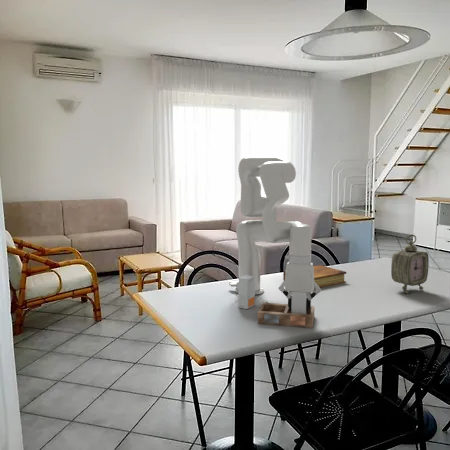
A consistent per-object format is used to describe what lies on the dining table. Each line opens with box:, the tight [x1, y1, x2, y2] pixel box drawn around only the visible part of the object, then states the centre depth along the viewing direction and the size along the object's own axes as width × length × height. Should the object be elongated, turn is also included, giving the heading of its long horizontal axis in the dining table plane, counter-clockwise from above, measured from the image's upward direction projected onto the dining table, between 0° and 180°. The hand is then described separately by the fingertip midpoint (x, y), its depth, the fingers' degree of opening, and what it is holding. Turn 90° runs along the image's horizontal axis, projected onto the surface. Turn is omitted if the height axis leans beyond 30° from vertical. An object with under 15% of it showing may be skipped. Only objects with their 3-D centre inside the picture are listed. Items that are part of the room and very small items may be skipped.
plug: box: [291, 292, 307, 314], centre depth 157 cm, size 5×5×11 cm
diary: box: [282, 264, 347, 290], centre depth 212 cm, size 23×19×6 cm
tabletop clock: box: [390, 234, 430, 295], centre depth 194 cm, size 14×9×25 cm, turn 123°
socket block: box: [257, 302, 315, 329], centre depth 158 cm, size 19×12×4 cm, turn 76°
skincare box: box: [238, 275, 256, 310], centre depth 174 cm, size 6×4×12 cm
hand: (299, 308), depth 157 cm, fingers open, 5 cm apart
